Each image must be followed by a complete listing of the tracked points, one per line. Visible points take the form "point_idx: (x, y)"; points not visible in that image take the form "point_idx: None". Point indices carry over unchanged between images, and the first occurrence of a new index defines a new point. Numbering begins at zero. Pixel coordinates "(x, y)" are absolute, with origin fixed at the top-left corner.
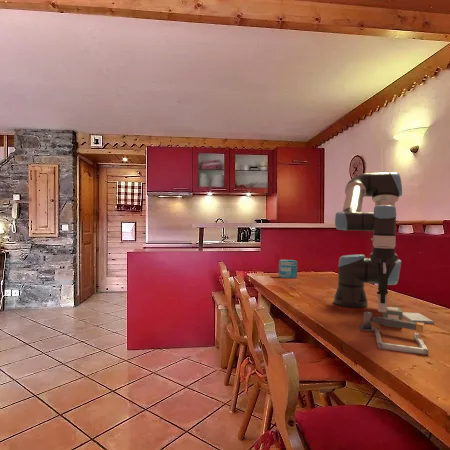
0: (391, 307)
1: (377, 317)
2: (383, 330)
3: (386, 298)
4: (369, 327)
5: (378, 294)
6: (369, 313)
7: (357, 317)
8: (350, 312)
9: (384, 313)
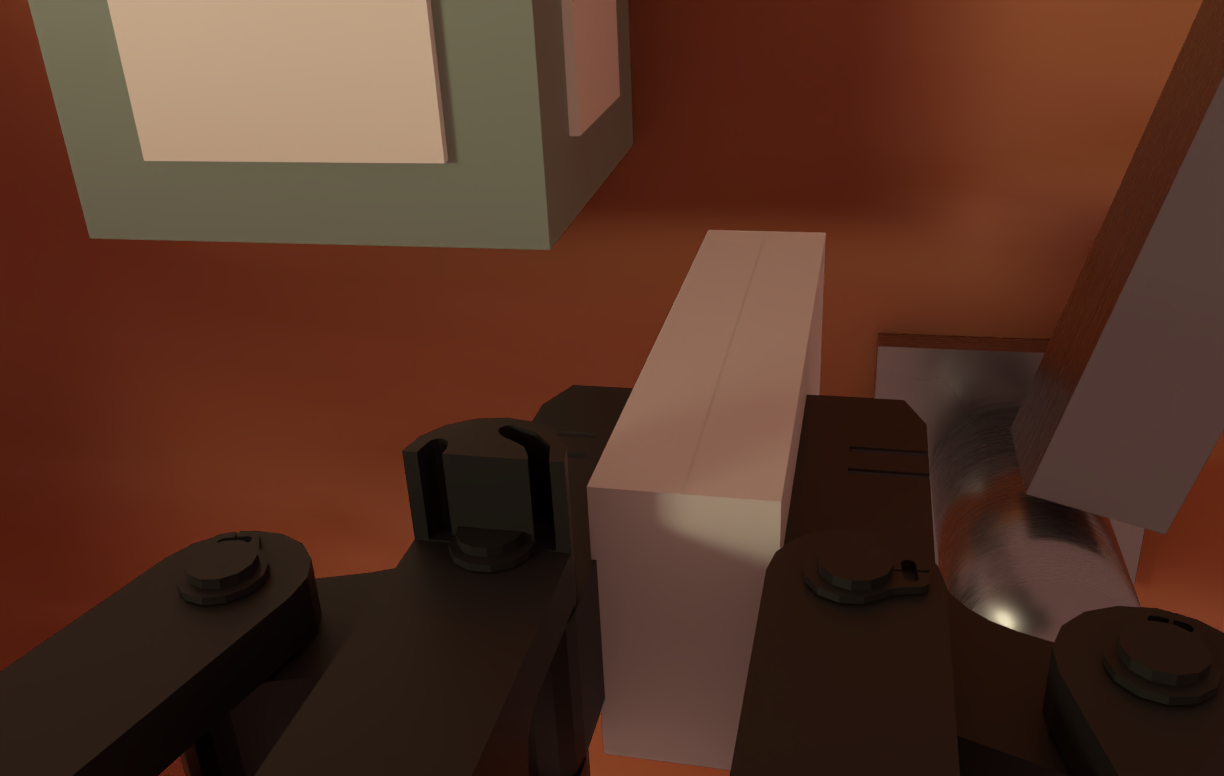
0: (150, 35)
1: (1194, 448)
2: (982, 184)
3: (794, 423)
4: None
5: (671, 731)
6: None
7: (305, 538)
8: (67, 606)
9: (568, 219)
